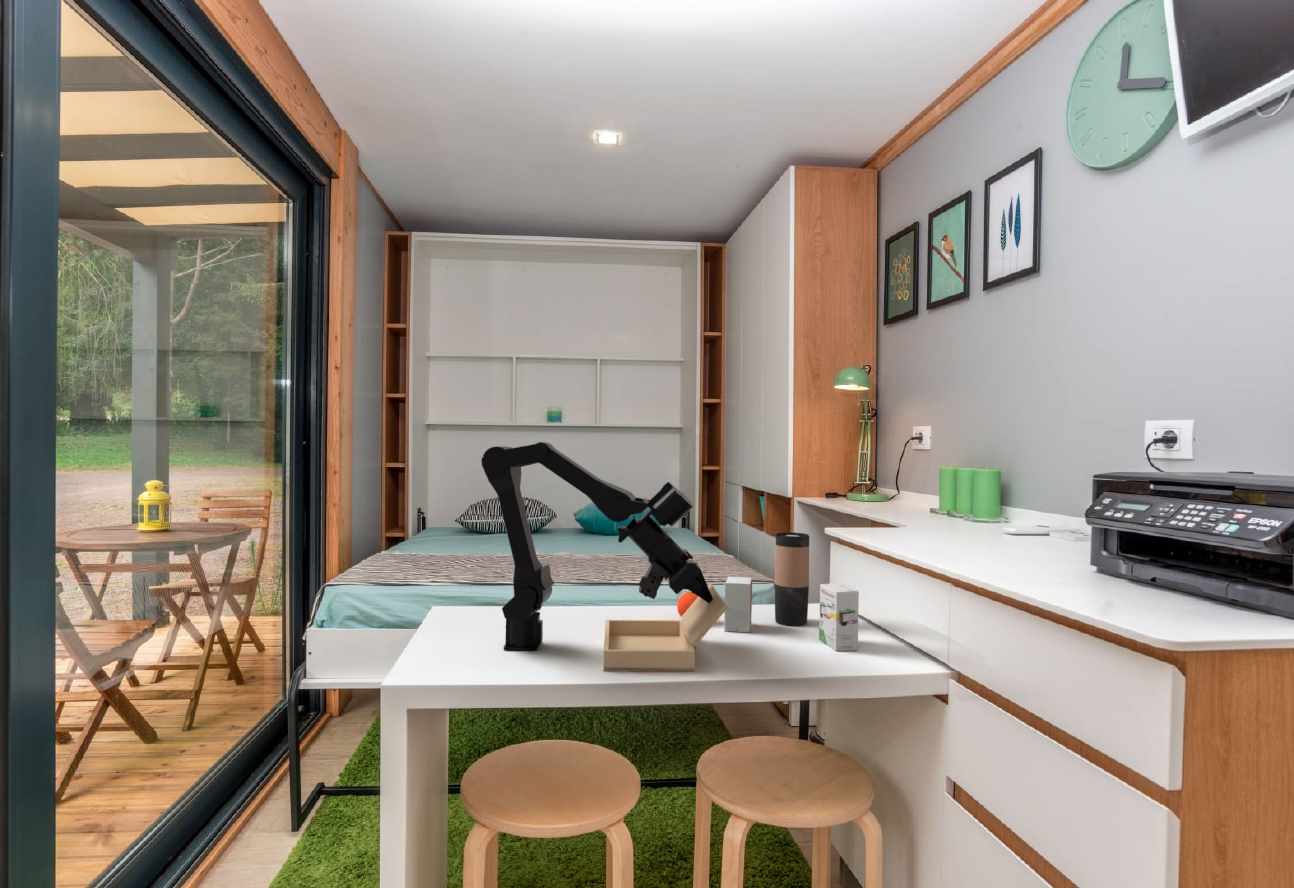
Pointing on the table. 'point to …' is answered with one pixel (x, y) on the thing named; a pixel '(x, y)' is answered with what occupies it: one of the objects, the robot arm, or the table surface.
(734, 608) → the small box
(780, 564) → the travel mug
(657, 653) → the carton
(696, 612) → the carton flap
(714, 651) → the table surface
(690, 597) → the clementine
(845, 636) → the ink box
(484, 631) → the table surface
